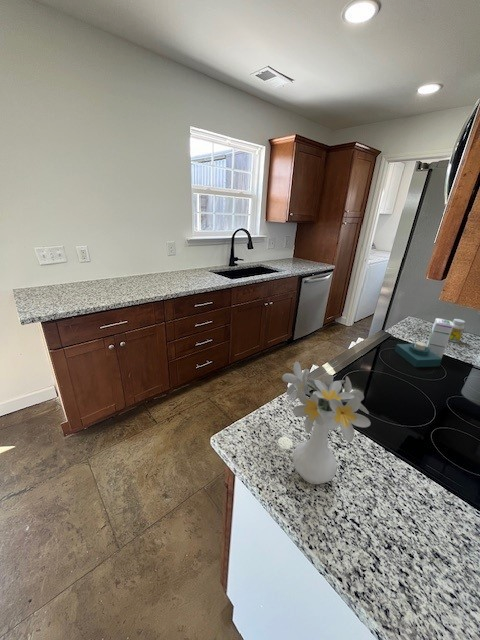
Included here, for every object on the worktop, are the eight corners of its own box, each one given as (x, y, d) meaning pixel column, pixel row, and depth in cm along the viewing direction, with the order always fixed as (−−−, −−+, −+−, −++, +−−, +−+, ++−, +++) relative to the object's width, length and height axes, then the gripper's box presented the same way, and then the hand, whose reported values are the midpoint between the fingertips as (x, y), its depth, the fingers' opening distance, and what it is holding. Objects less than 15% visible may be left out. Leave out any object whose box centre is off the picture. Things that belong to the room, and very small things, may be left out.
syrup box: (441, 358, 105) (455, 325, 99) (424, 354, 108) (436, 322, 102) (441, 352, 110) (453, 320, 104) (424, 348, 112) (435, 317, 107)
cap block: (439, 366, 100) (443, 355, 98) (415, 367, 99) (419, 355, 97) (416, 350, 111) (420, 339, 109) (394, 350, 110) (397, 340, 108)
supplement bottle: (461, 341, 120) (470, 322, 116) (454, 343, 118) (462, 323, 114) (449, 336, 124) (456, 317, 120) (442, 337, 122) (449, 318, 118)
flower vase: (295, 430, 69) (308, 347, 59) (362, 484, 57) (393, 390, 46) (259, 457, 62) (267, 367, 52) (327, 526, 49) (355, 425, 39)
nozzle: (427, 350, 102) (428, 345, 101) (418, 350, 101) (420, 346, 100) (420, 345, 105) (421, 341, 104) (411, 346, 104) (413, 341, 104)
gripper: (456, 268, 106) (434, 295, 107) (523, 283, 90) (496, 316, 91) (459, 276, 110) (437, 303, 111) (523, 292, 94) (497, 323, 95)
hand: (464, 309), depth 101 cm, fingers open, 8 cm apart
